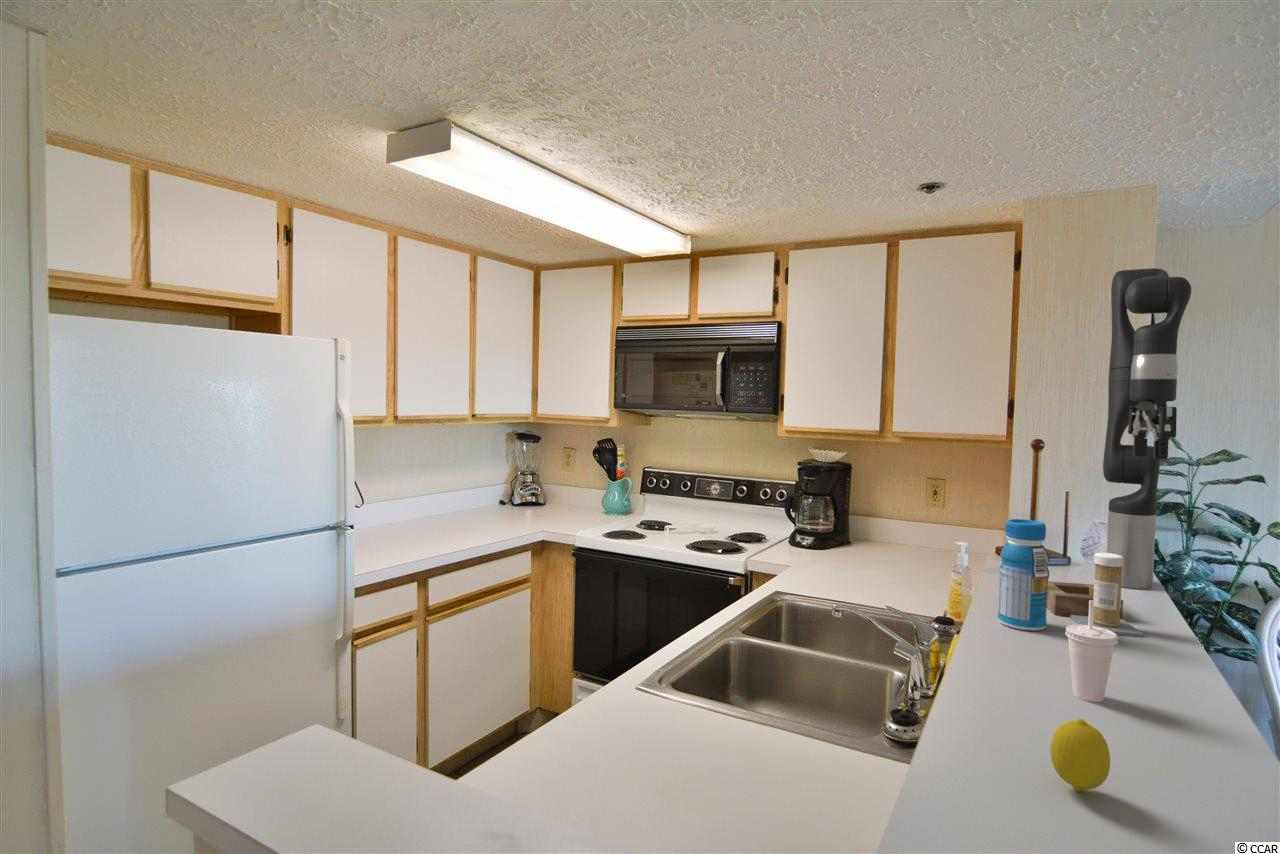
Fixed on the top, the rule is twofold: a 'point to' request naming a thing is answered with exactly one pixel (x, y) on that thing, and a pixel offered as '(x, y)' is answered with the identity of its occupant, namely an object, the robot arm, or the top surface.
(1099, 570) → the sprinkles bottle
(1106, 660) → the smoothie
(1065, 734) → the lemon
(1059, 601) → the walnut socket block
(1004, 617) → the beverage bottle
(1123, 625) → the slate pad
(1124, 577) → the robot arm
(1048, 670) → the top surface
